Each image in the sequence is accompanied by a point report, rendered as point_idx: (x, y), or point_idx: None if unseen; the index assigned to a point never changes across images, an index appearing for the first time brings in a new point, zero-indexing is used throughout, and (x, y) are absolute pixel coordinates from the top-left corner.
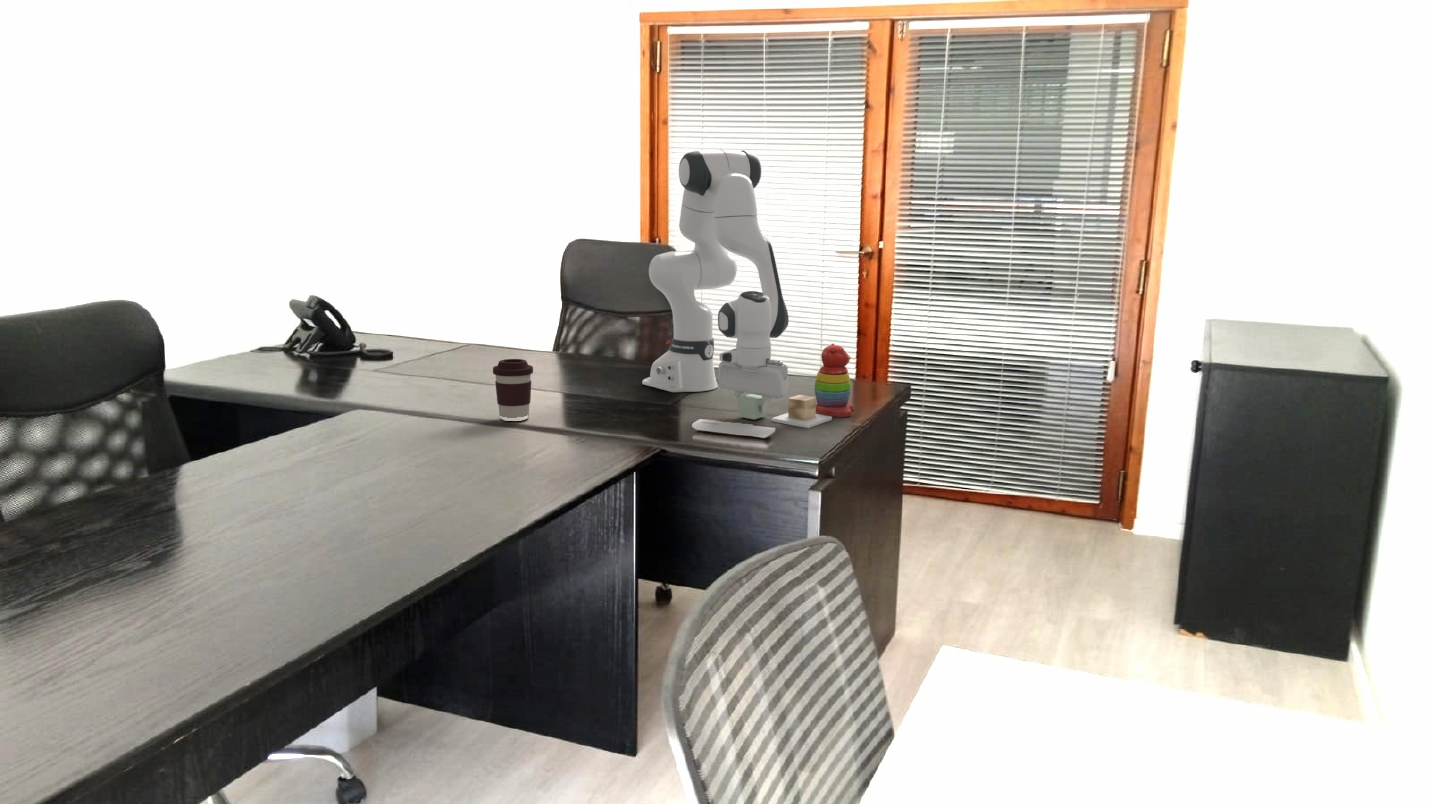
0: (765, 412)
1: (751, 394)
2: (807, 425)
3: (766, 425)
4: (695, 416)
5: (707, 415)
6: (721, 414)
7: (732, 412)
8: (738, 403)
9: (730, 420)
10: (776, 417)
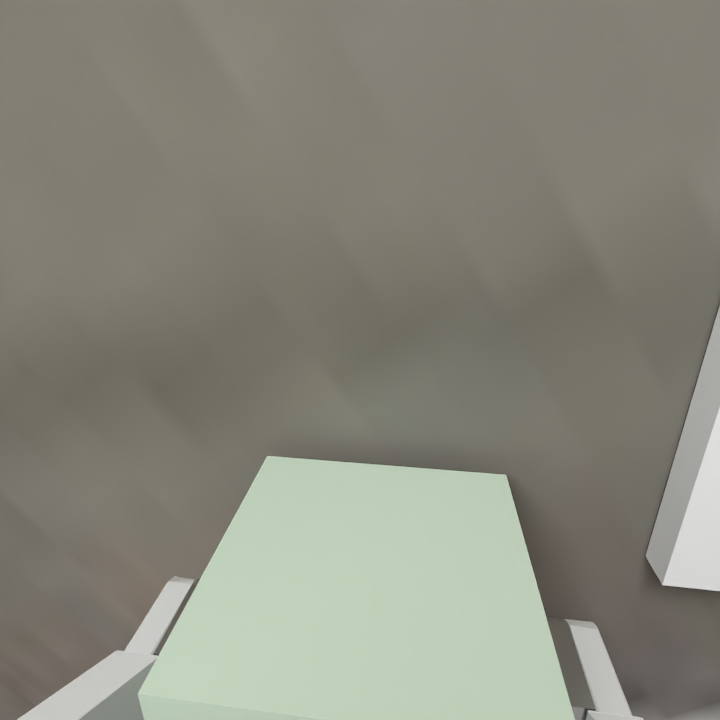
0: (513, 514)
1: (186, 716)
2: None
3: (662, 690)
4: (3, 689)
5: (30, 635)
6: (73, 563)
7: (77, 456)
8: None
9: None
10: (707, 536)
